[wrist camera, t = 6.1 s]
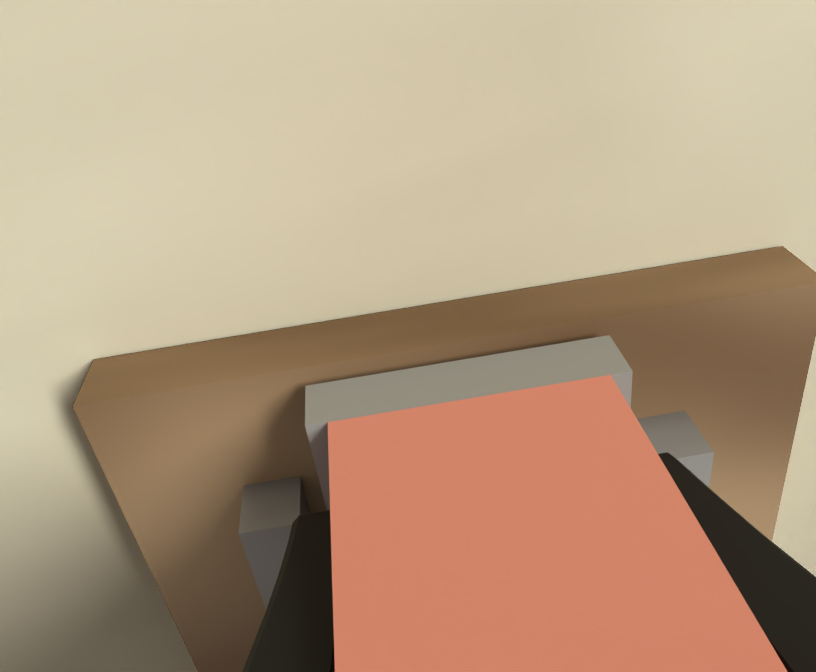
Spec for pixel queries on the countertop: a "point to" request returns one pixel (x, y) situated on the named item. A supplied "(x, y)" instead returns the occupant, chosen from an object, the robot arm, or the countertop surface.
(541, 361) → the block
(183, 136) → the countertop surface
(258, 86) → the countertop surface
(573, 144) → the countertop surface
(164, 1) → the countertop surface
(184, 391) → the cracker bench
